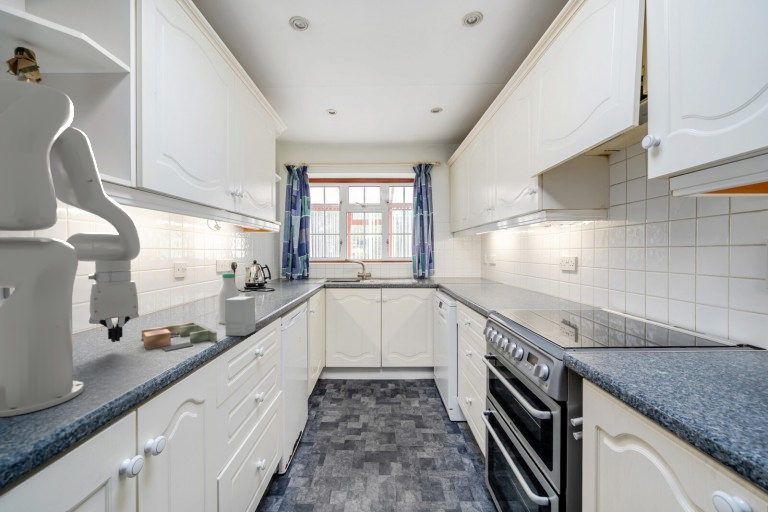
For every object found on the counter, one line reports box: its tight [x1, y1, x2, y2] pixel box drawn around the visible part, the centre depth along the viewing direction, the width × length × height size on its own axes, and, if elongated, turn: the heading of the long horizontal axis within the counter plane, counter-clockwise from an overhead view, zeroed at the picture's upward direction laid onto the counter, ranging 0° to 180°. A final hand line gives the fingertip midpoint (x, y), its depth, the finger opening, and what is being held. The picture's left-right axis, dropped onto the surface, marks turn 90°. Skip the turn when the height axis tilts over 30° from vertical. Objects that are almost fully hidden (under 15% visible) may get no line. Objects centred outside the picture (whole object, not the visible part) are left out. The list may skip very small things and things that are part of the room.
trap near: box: [161, 341, 194, 353], centre depth 91 cm, size 7×4×1 cm, turn 138°
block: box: [143, 329, 172, 350], centre depth 94 cm, size 6×6×4 cm
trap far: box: [171, 333, 180, 339], centre depth 101 cm, size 7×4×1 cm, turn 138°
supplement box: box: [224, 296, 256, 337], centre depth 107 cm, size 7×7×13 cm
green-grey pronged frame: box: [141, 321, 218, 344], centre depth 98 cm, size 16×22×3 cm
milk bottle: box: [217, 272, 240, 325], centre depth 124 cm, size 8×8×20 cm
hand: (115, 340), depth 87 cm, fingers closed
